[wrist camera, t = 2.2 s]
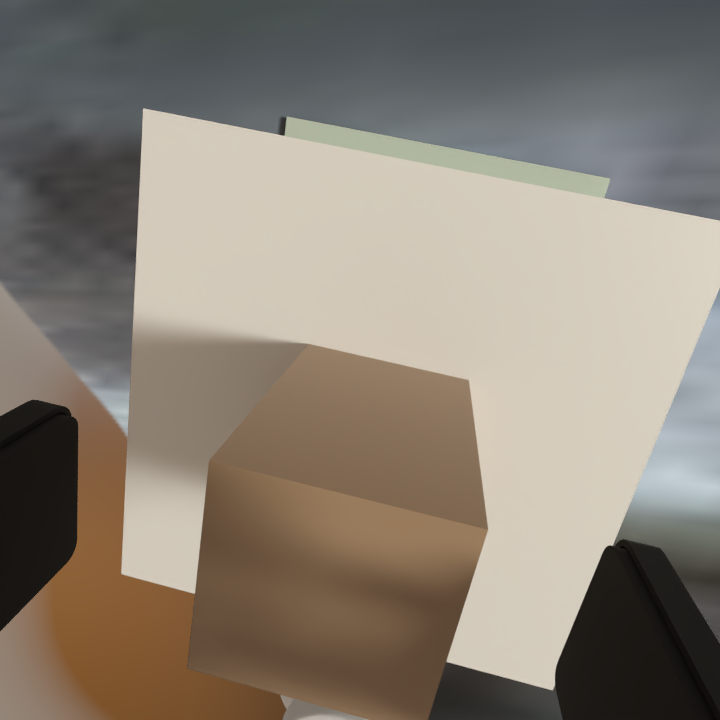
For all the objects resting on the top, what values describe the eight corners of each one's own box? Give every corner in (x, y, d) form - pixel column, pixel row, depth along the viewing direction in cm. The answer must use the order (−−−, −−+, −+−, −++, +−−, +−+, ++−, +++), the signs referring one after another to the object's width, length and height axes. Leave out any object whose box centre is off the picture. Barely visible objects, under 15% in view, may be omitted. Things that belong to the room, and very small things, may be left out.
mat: (608, 178, 26) (610, 178, 26) (515, 464, 31) (516, 468, 31) (289, 117, 27) (286, 116, 27) (251, 402, 32) (249, 404, 32)
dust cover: (571, 203, 26) (1058, 267, 5) (498, 441, 30) (615, 981, 10) (309, 151, 27) (-118, 41, 6) (275, 388, 32) (-47, 776, 11)
